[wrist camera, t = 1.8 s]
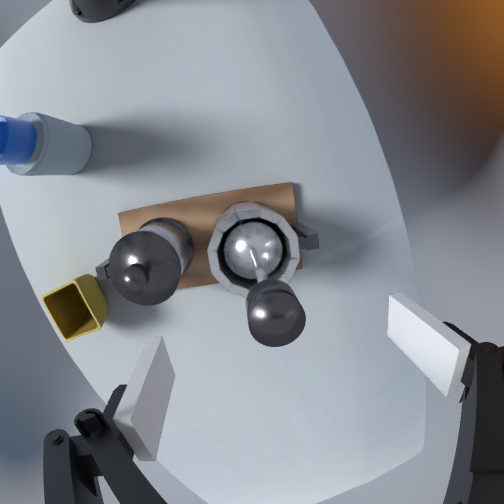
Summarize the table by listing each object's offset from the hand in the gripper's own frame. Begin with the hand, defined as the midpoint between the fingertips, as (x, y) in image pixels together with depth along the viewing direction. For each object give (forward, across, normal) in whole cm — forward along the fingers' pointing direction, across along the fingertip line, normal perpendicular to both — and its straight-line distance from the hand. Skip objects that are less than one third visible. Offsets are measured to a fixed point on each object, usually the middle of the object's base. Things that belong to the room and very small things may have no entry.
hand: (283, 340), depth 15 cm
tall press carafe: (+31, +1, +1) cm, 31 cm away
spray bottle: (+33, -28, +21) cm, 48 cm away
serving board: (+32, -6, +1) cm, 33 cm away
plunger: (+20, 0, 0) cm, 20 cm away
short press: (+31, -15, +1) cm, 34 cm away
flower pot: (+33, -30, -5) cm, 45 cm away
